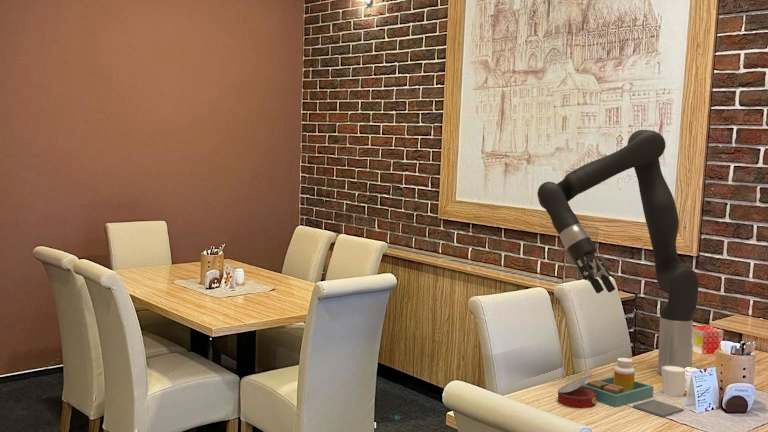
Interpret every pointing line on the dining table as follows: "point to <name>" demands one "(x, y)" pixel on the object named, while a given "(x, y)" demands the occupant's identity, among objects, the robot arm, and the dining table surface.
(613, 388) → the walnut block
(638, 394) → the teal tray
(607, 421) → the dining table surface
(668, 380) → the cream cylinder
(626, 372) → the supplement bottle
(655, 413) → the coaster
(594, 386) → the walnut block
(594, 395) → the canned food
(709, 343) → the red patterned cube
